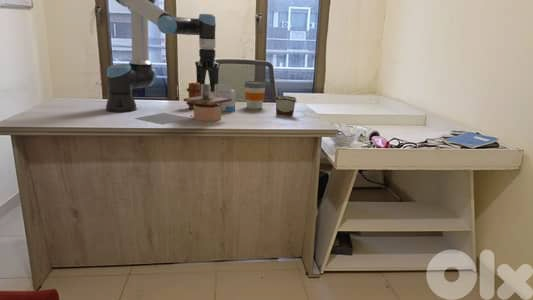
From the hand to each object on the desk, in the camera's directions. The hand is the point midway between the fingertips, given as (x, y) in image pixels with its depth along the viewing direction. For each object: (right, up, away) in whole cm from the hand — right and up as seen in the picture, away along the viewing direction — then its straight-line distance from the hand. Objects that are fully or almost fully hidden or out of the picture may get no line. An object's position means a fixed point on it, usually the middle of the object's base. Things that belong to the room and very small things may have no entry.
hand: (207, 97), depth 188 cm
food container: (+40, -7, +22) cm, 46 cm away
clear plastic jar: (+7, -4, +27) cm, 28 cm away
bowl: (0, -10, +3) cm, 11 cm away
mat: (-21, -11, -2) cm, 24 cm away
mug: (-11, -2, +31) cm, 33 cm away
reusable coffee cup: (+22, -1, +40) cm, 45 cm away
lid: (0, -2, 0) cm, 2 cm away
